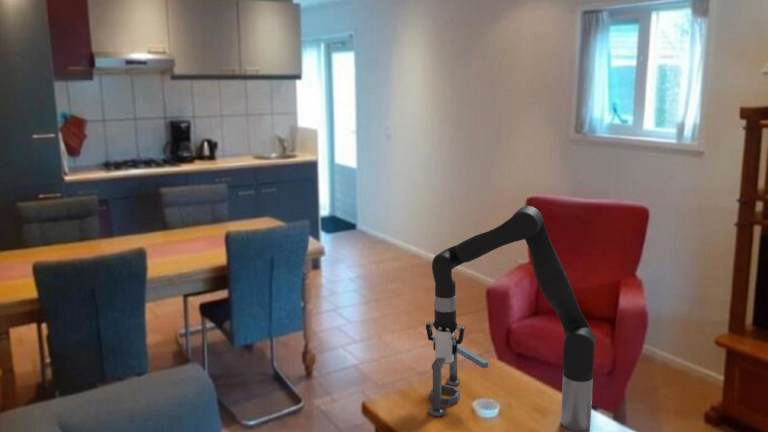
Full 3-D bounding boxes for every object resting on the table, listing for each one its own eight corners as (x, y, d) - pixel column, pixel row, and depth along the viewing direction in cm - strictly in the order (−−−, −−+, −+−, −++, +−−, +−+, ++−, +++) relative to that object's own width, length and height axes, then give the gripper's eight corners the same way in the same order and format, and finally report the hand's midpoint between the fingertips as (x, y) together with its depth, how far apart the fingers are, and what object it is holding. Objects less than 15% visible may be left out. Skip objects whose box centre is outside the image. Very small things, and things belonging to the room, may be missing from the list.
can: (452, 365, 216) (452, 332, 214) (434, 363, 218) (434, 331, 215) (454, 357, 223) (454, 325, 220) (436, 355, 224) (436, 324, 221)
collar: (462, 393, 226) (462, 387, 225) (455, 407, 217) (455, 400, 216) (435, 389, 229) (435, 383, 229) (427, 402, 220) (427, 396, 220)
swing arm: (445, 347, 232) (445, 342, 231) (454, 345, 234) (454, 340, 233) (481, 369, 214) (481, 364, 214) (490, 366, 216) (490, 361, 216)
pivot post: (461, 381, 236) (461, 347, 233) (458, 387, 231) (458, 353, 228) (448, 379, 237) (448, 346, 234) (445, 385, 233) (445, 351, 230)
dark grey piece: (449, 407, 217) (449, 359, 213) (443, 418, 210) (443, 369, 206) (432, 404, 219) (432, 356, 215) (426, 415, 212) (425, 366, 208)
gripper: (468, 305, 217) (467, 351, 220) (428, 301, 222) (428, 345, 225) (463, 313, 210) (462, 359, 213) (422, 308, 215) (422, 354, 218)
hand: (445, 352), depth 219 cm, fingers closed on can, 5 cm apart
